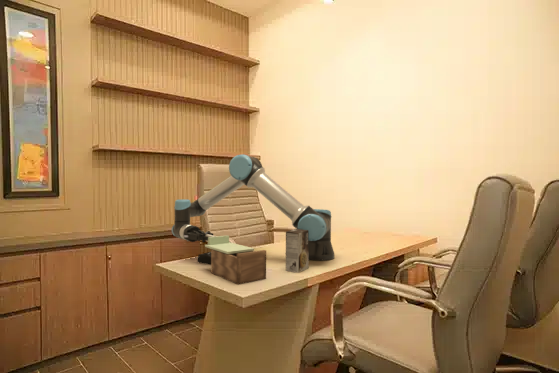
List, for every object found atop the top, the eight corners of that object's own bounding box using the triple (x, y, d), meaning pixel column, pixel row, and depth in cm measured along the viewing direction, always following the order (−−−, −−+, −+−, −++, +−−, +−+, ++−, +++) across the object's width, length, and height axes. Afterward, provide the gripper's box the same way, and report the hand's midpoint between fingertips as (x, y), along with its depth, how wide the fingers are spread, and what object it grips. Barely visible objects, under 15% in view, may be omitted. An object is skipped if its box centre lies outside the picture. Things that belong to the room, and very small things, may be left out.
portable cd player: (222, 257, 168) (222, 248, 168) (250, 261, 159) (250, 252, 159) (197, 263, 154) (197, 254, 154) (226, 268, 145) (226, 259, 145)
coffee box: (295, 266, 148) (295, 228, 148) (308, 268, 145) (309, 229, 145) (284, 270, 141) (285, 230, 140) (298, 272, 137) (299, 232, 137)
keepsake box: (266, 278, 128) (266, 250, 128) (238, 284, 120) (238, 254, 120) (237, 268, 144) (237, 243, 144) (211, 272, 136) (211, 246, 136)
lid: (254, 250, 134) (254, 240, 134) (228, 254, 126) (228, 243, 126) (229, 244, 148) (229, 235, 148) (204, 246, 141) (205, 237, 141)
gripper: (203, 239, 169) (227, 246, 151) (177, 242, 161) (199, 250, 143) (203, 224, 169) (227, 229, 151) (177, 226, 161) (200, 231, 142)
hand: (214, 239), depth 147 cm, fingers closed
